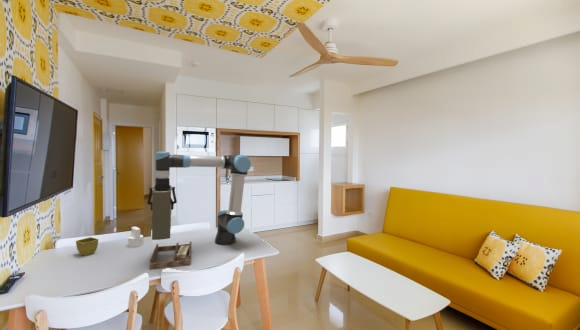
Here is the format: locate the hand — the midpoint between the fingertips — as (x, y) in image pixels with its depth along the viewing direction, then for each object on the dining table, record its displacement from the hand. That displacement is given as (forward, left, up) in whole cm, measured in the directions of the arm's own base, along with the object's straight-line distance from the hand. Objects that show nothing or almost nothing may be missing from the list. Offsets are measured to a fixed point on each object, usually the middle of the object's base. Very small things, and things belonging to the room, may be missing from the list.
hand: (162, 215), depth 160 cm
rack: (-6, 0, -28) cm, 28 cm away
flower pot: (+45, -23, -28) cm, 58 cm away
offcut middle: (-12, 0, -26) cm, 29 cm away
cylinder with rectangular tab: (+20, -33, -28) cm, 48 cm away
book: (0, 0, -12) cm, 12 cm away
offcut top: (-12, 0, -24) cm, 27 cm away
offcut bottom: (-12, 0, -28) cm, 31 cm away
